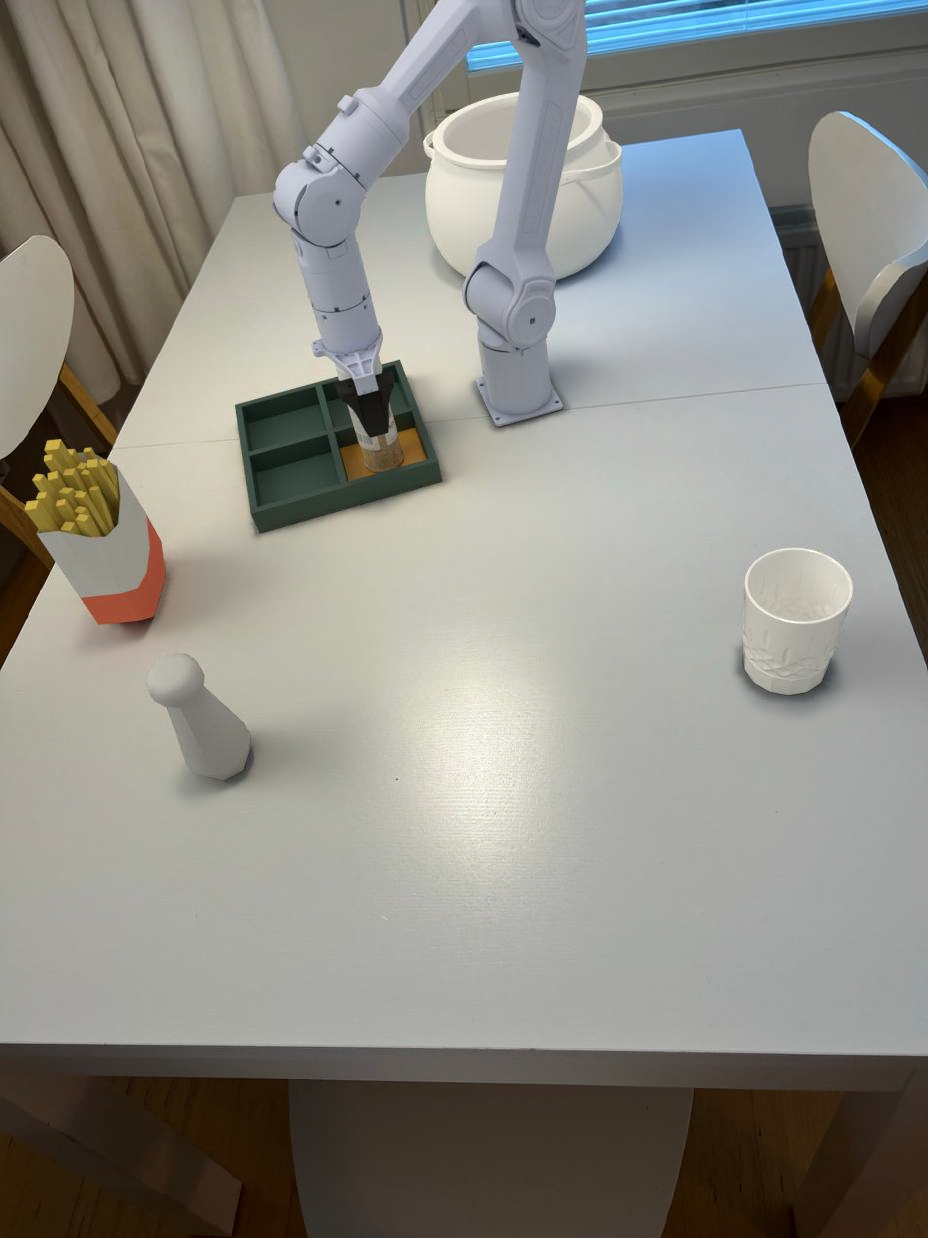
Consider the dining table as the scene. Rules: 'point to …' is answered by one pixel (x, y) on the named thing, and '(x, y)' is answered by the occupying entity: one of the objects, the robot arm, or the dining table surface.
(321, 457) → the tray
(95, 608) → the french fries container
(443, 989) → the dining table surface
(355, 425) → the sprinkles bottle
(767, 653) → the white cup
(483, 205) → the pot
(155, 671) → the salt shaker
